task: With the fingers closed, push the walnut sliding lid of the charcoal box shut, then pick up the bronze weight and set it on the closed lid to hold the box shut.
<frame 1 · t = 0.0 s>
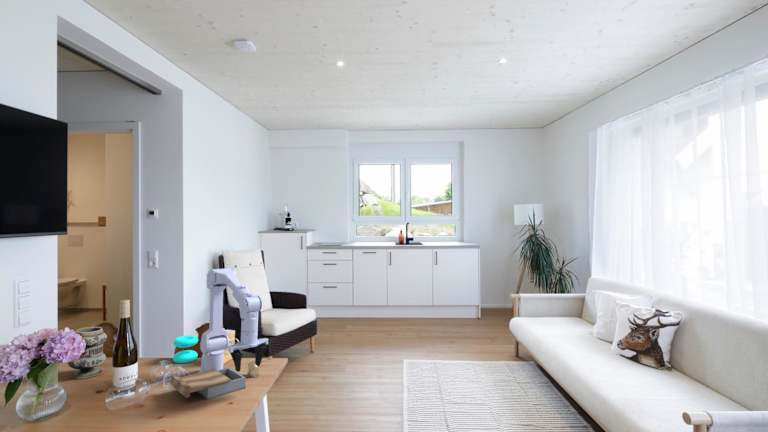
hand: (247, 368, 137), 10 cm above the table, tool pointing down, fingers open, 7 cm apart
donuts: (185, 360, 171), on the table
supplement box: (224, 361, 171), on the table
apothecary jar: (86, 374, 152), on the table
bronze weight: (253, 375, 155), on the table
box lid: (201, 379, 138), point 5 cm above the table, slide at 6.0 cm
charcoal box: (218, 387, 143), on the table
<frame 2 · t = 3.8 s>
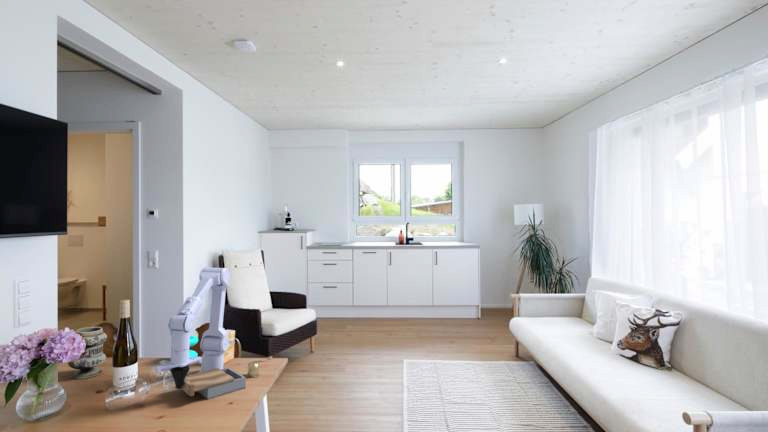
hand: (178, 388, 132), 4 cm above the table, tool pointing down, fingers closed
box lid: (205, 378, 139), point 5 cm above the table, slide at 4.6 cm, touching gripper
everything else where it was.
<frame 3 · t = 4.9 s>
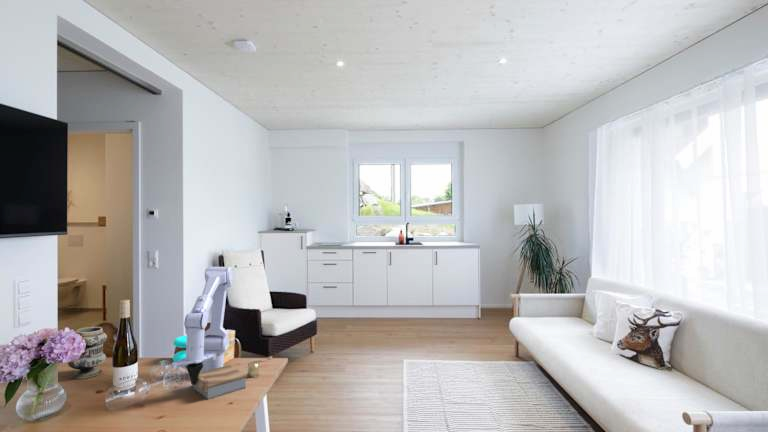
hand: (193, 384, 136), 4 cm above the table, tool pointing down, fingers closed
box lid: (218, 375, 143), point 5 cm above the table, slide at -0.1 cm, touching gripper
everything else where it was.
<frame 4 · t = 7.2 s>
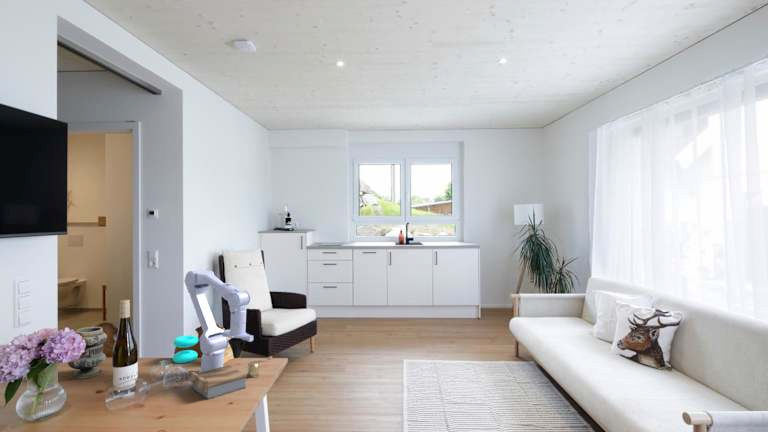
hand: (236, 357, 149), 9 cm above the table, tool pointing down, fingers closed
box lid: (217, 375, 142), point 5 cm above the table, slide at -0.1 cm
everything else where it was.
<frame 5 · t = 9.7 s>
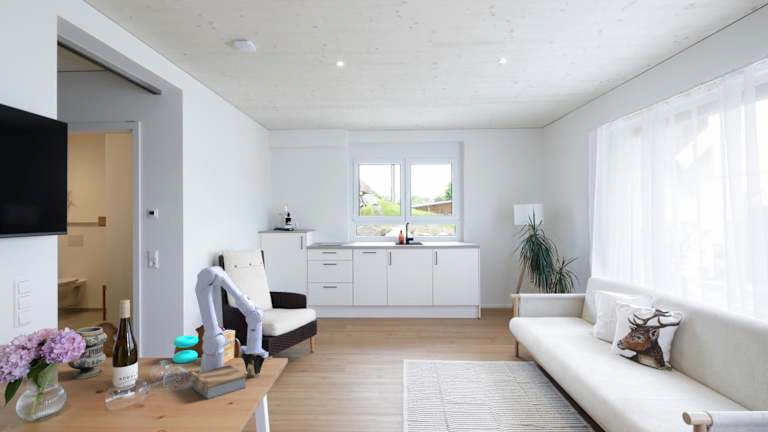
hand: (253, 372, 155), 1 cm above the table, tool pointing down, fingers closed on bronze weight, 4 cm apart
bronze weight: (253, 375, 155), on the table, touching gripper
everything else where it was.
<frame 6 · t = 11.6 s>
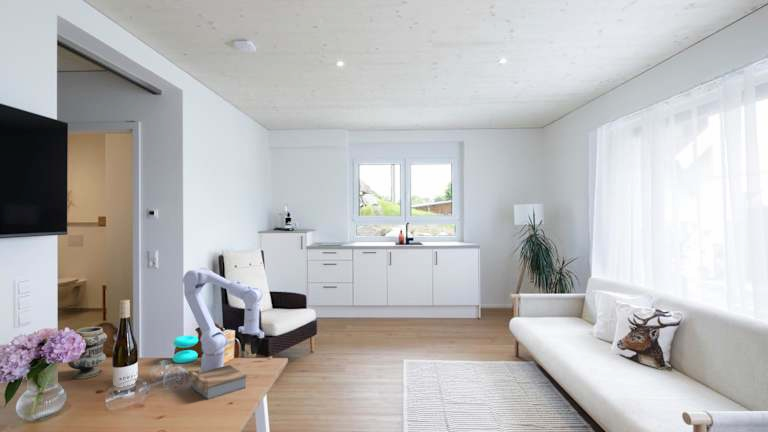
hand: (250, 352, 154), 10 cm above the table, tool pointing down, fingers closed on bronze weight, 4 cm apart
bronze weight: (250, 356, 154), point 8 cm above the table, touching gripper
everything else where it was.
when the fingers open (8 cm above the table, at t = 13.4 s): bronze weight drops 1 cm, resting on box lid.
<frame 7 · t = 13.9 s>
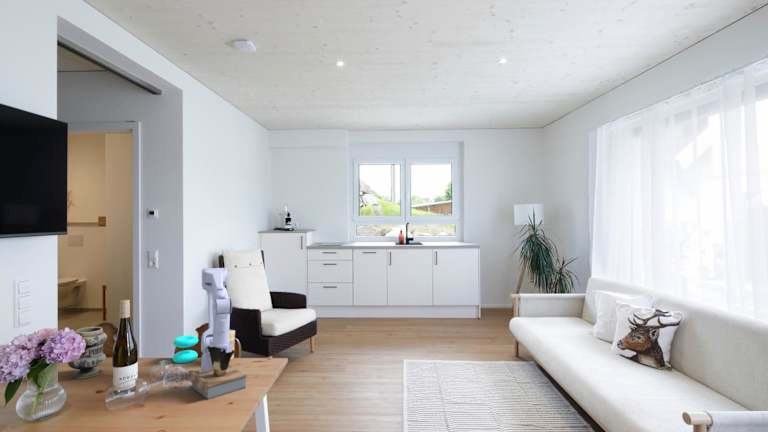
hand: (219, 367, 143), 8 cm above the table, tool pointing down, fingers open, 7 cm apart
bronze weight: (219, 374, 143), point 5 cm above the table, touching box lid
box lid: (217, 375, 142), point 5 cm above the table, slide at 0.0 cm, touching bronze weight
everything else where it was.
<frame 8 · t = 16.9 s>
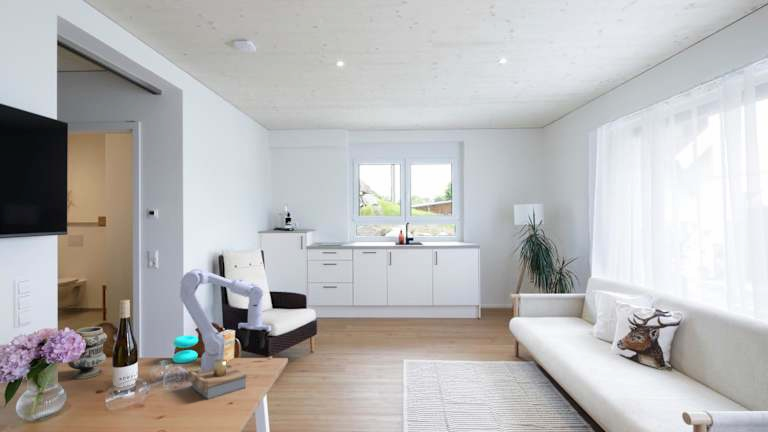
hand: (253, 346, 160), 10 cm above the table, tool pointing down, fingers open, 7 cm apart
nothing on the table moved.
at the end: box lid slide at 0.0 cm; bronze weight inside the target area on the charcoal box (0.2 cm from its centre), point 4.9 cm above the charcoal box's base; bronze weight tilted 3° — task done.
